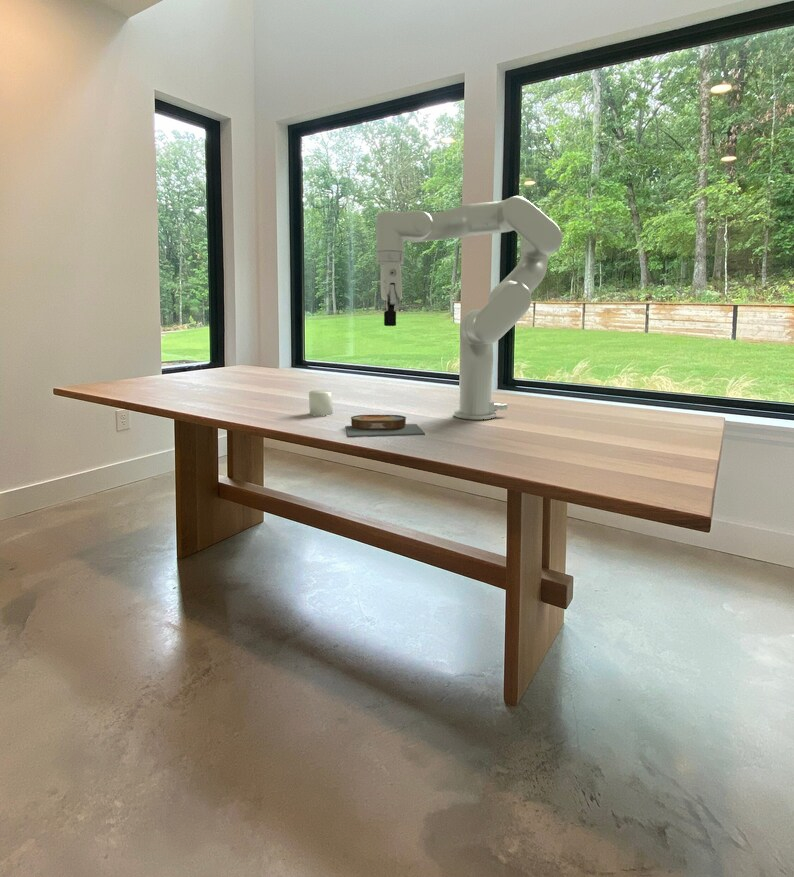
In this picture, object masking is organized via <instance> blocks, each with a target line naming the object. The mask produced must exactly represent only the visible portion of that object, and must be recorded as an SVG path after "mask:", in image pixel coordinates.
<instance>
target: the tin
mask: <svg viewBox="0 0 794 877" xmlns="http://www.w3.org/2000/svg"><path fill="white" fill-rule="evenodd" d="M350 419H351V421H350V423H351V426H352V427H353V428H356V429H401V428H404V427H405V425H406V421H407V420H406V419H407V417H406V416H404V415H401V414H357V415H353V416H351V417H350Z"/></svg>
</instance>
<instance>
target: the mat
mask: <svg viewBox="0 0 794 877" xmlns="http://www.w3.org/2000/svg"><path fill="white" fill-rule="evenodd" d="M344 427H345V428H344V429H345V431H346V434H347V437H348V438H355V437H354V436H358V437H357V438H360V437H359V436H367V437H391V436H393V437H394V436H395V435H398V436H418V435H419V436H420V435H422V436H423V435H424V436H425V435H426V432H425V431H424V430H423V429H422V428H421V427H420V426H419V425H418V424H417V423H407V424H406V425H405V427H404V428H401V429H356V428H353V427H352V425H345V426H344Z"/></svg>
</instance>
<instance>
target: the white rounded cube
mask: <svg viewBox="0 0 794 877" xmlns="http://www.w3.org/2000/svg"><path fill="white" fill-rule="evenodd" d="M308 399H309V400H308V401H309V402H308V404H309V408H308V409H309V416H311V415H315V416H314V417H318V416H322V417H326V416H325V415H330V416H332V415H333V414H334V413H333V391H332V390H328V389H327V390H326V389H325V390H324V389H319V390H318V389H315V390H310V391H309V392H308ZM331 414H332V415H331ZM323 415H324V416H323Z"/></svg>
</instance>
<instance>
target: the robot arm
mask: <svg viewBox="0 0 794 877" xmlns="http://www.w3.org/2000/svg"><path fill="white" fill-rule="evenodd" d="M512 231H515V232H516V234H518V235H519V236H520V240H519V241H520V242H519V244H520V245H519V247H520V259H519V261H518V263H517V264H516V266H515V267H514V268H513V270H511V271H510V273H509V274H508V275H507V276H506V277H504V279H503V280H501V282H499V283H498V284H497V285H496V286H495V287H494V288H493V289H492V290H491V292H490V294H489V295H488V299H487V300H488V302H487V304H486V305H485V306H484V307H483V308H477V309H472V310H470V311H468V312H466V314H464V315H463V316H462V319H461V321H460V325H459V340H460V374H459V377H460V378H459V380H460V381H459V383H460V384H459V409H457V410H454V413H453V415H454V416H455V417H456V418H459V419H462V420H463V419H464V420H474V421H475V420H477V421H478V420H479V421H482V420H483V419H484V420H490V419H491V418H492V419H494V418H496V417H497V411H506V410H507V409H508V405H507V403H500V402H499V403H498V402H497V403H496V402H494V400H492V397H493V395H492V394H493V372H494V371H493V370H494V369H493V368H494V347H493V344H494V343H496V342H497V341H499V340H500V339H501V338H502V337H504V336H505V335H506V333H507V332H509V331H510V329H512V328H513V327H514V326H515V325H516V324H517V322H518V321H520V320H521V319H522V318H523V317H524V315H526V313H527V311H529V309H530V306H531V304H532V293H533V292H534V291H535V290H536V288H537V287H538V286H540V284H541V283H542V281H543V279H545V276H546V273H547V271H548V262H549V260H548V259H549V258H548V256H550V255H552V254H554V253H556V252H557V251H558V250H560V248H561V246H562V244H563V232H562V230H561V229H560V227H559V226H558V224H557V223H556V222H555V221H553V220H552V219H551V218H550V217H548V216H547V215H546V214H545V213H544V212H543V211H541V209H539V208H538V207H536V206H535V205H534V204H533V203H532V202H531V201H529V200H528V199H526V198H525V197H523V196H519V195H514V196H510V197H509V198H505V199H504V200H495V201H488V202H477V203H468V204H463V205H459V206H457V207H454V208H450V209H447V210H444V211H440V212H439V211H438V212H434V213H428V212H426V211H423V210H412V211H410V210H409V211H402V212H401V211H400V212H399V211H395V210H385V211H381V212H378V213H377V215H376V231H375V232H376V237H375V238H376V265H379V266H380V298H381V299H382V301H383V303H384V307H383V308H384V311H383V325H384V326H386V327H396V326H397V306H396V305H397V304H396V303H397V301H401V300H402V299H403V291H402V290H403V288H402V287H403V286H402V285H403V284H402V282H403V281H402V267H401V265H402V266H403V265H404V249H405V248H404V246H405V245H404V244H405V242H404V240H406V241H407V242H409V243H422V242H424V243H425V242H431V241H440V240H447V239H460V238H468V237H475V236H483V235H491V234H502V233H510V232H512Z"/></svg>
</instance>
